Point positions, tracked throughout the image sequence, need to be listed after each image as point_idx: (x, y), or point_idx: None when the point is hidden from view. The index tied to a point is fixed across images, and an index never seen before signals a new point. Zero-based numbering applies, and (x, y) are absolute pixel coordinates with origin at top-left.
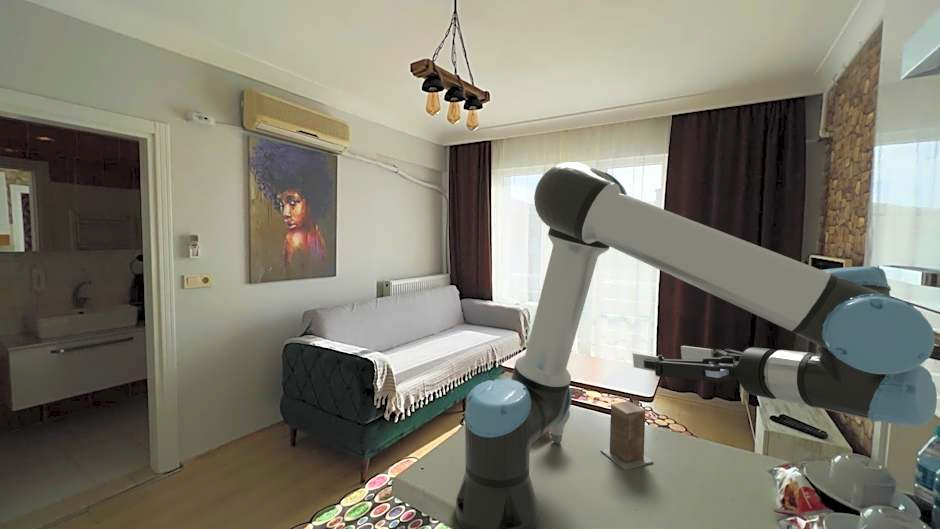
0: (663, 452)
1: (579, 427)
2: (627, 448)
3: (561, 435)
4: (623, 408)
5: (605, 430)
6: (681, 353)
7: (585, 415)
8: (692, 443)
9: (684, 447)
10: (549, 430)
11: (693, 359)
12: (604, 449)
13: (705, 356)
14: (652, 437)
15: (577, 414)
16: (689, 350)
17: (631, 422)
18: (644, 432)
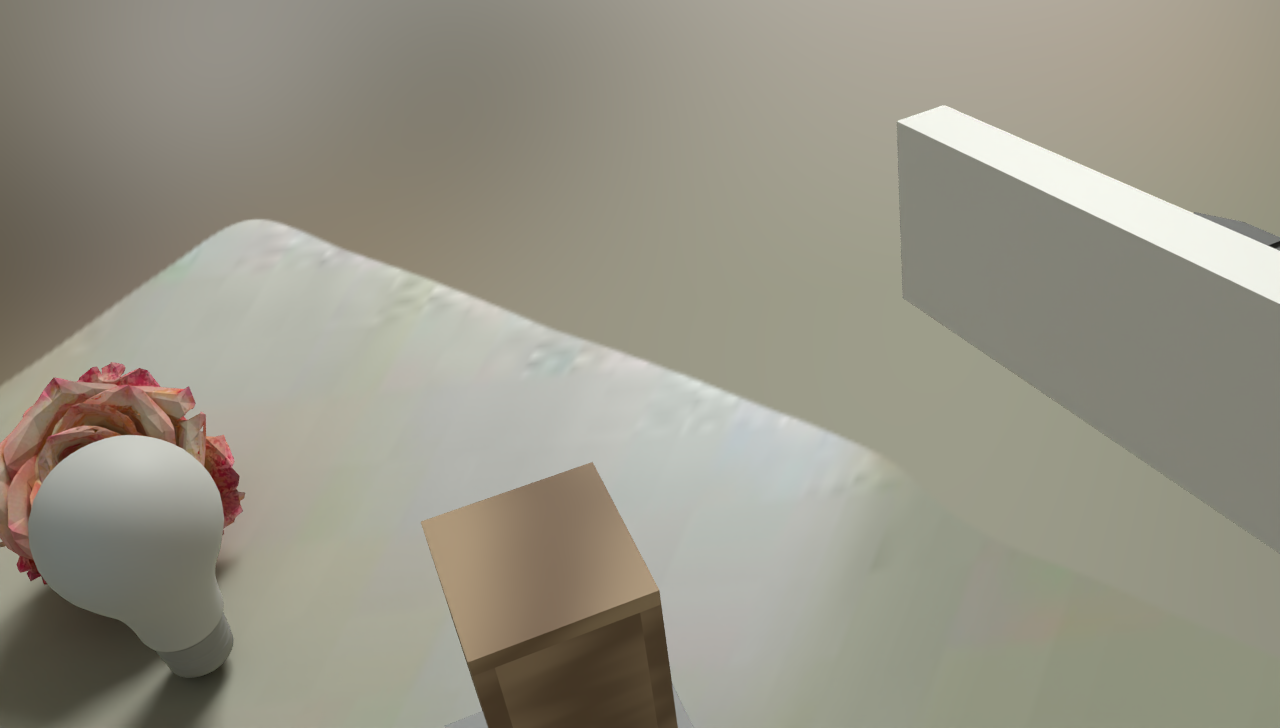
0: (868, 707)
1: (436, 491)
2: None
3: (206, 641)
4: (485, 579)
5: None
6: (903, 225)
7: (530, 375)
8: (1101, 591)
9: (1032, 639)
10: None
11: (1027, 364)
12: (471, 720)
13: (1205, 401)
14: (855, 550)
15: (487, 370)
16: (992, 218)
17: (532, 694)
18: (674, 704)
